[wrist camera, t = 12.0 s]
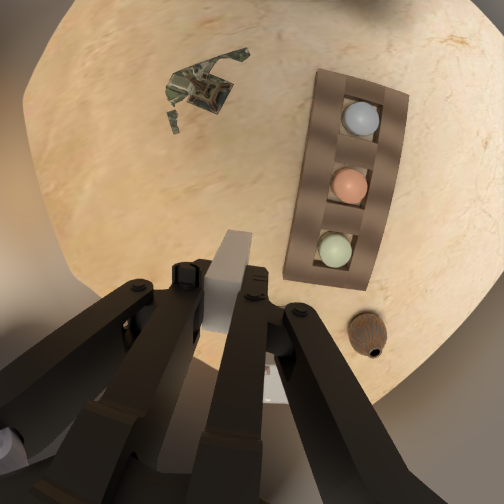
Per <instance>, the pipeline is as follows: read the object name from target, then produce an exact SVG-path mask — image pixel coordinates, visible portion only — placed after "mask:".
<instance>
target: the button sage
mask: <svg viewBox="0 0 504 504" xmlns="http://www.w3.org/2000/svg"><path fill="white" fill-rule="evenodd" d="M318 251H319V253H320V256H321V258H322V261H323V262H324V263H325V264H326V265H327V266H330V267H341V266H343V265H344V264H346V263H347V262H348V261H349V259H350V257H351V254H352V249H351V245H350V244H349V242H348V241H347V239H346V238H345V237H344V235H343V234H341V233H340V232H336V231H330V232H327V233H325V234H324V235H323V236H322V237H321V238H320V240H319V242H318Z"/></svg>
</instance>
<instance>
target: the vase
mask: <svg viewBox="0 0 504 504" xmlns="http://www.w3.org/2000/svg"><path fill="white" fill-rule="evenodd" d="M349 340H350V343H351V345H352V347H353V348H354V350H355V351H356V352H358V353H359V354H361V355H364V356H368V357H370V358H377V357H379V356H380V355H381V353H382V349H383V347H384V346H385V344H386V340H387V331H386V327H385V325H384V323H383V322H382V320H381V319H380V318H379V317H377V316H376V315H373V314H362V315H360V316H358V317H356V318H355V319H354V320H353V321H352V323H351V325H350V328H349Z"/></svg>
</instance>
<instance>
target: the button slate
mask: <svg viewBox="0 0 504 504" xmlns="http://www.w3.org/2000/svg"><path fill="white" fill-rule="evenodd" d="M342 123H343V125H344V127H345V129H346V130H347V131H348V132H350V133H351V134H354V135H369V134H372V133H373V132H374V131H375V130H376V129H377V127H378V125H379V116H378V113H377V111H376V110H375V108H374V107H373V106H371V105H370V104H368V103H365V102H357V103H354V104H352V105H350V106H348V107H347V108H346V109H345V110H344V111H343V114H342Z"/></svg>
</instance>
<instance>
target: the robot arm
mask: <svg viewBox="0 0 504 504" xmlns="http://www.w3.org/2000/svg"><path fill="white" fill-rule="evenodd" d="M251 239H252V233H250V232H242V231H235V230H228V231H227V233H226V235H225V237H224V239H223V241H222V243H221V245H220V247H219V249H218V251H217V253H216V255H215V257H214V259H213V261H211V260H204V259H198V260H196V261H194V262H193V263H192V262H180V263H177V264H174V265H173V266H172V284H171V286H170V287H169V289H165V290H154V289H153V284H152V282H150V281H148V280H144V279H134V280H130V281H128V282H126V283H125V284H123V285H122V286H120V287H119V288H117V289H116V290H114V291H112V292H111V293H109V294H108V295H106V296H105V297H103V298H102V299H100V300H99V301H97V302H96V303H94V304H93V305H92V306H90V307H89V308H87V309H86V310H84V311H83V312H81V313H80V314H78V315H77V316H75V317H74V318H72V319H71V320H69V321H68V322H67V323H65V324H64V325H62V326H61V327H59V328H58V329H57V330H55V331H54V332H52V333H51V334H50V335H48V336H47V337H45V338H44V339H43V340H41V341H40V342H39V343H37V344H36V345H34V346H33V347H31V348H30V349H29V350H27V351H26V352H25V353H23V354H22V355H21V356H19V357H18V358H17V359H15V360H14V361H13V362H11V363H10V364H9V365H7V366H6V367H5V368H3V369H2V370H1V371H0V504H270V503H268V502H267V501H266V500H264V499H263V498H261V497H259V491H260V479H261V465H262V449H263V447H262V446H263V444H262V441H261V422H262V409H263V394H264V377H265V360H266V352H269V353H271V354H274V361H275V364H276V367H277V370H278V373H279V376H280V379H281V382H282V385H283V388H284V391H285V394H286V397H287V400H288V403H289V406H290V409H291V412H292V415H293V417H294V421H295V423H296V427H297V429H298V432H299V435H300V438H301V441H302V444H303V447H304V450H305V453H306V455H307V458H308V461H309V464H310V467H311V470H312V473H313V476H314V479H315V482H316V484H317V487H318V490H319V493H320V496H321V499H322V501H323V504H448V503H446V502H445V501H444V500H443V499H442V498H440V497H439V496H438V495H437V494H436V493H434V492H433V491H432V490H431V489H430V488H428V487H427V486H426V485H425V484H424V483H423V482H422V481H420V480H419V479H418V478H417V477H416V476H415V475H413V474H412V473H411V472H410V471H409V470H408V468H407V466H406V464H405V463H404V461H403V459H402V457H401V455H400V454H399V452H398V450H397V448H396V447H395V445H394V443H393V441H392V439H391V437H390V436H389V434H388V432H387V430H386V429H385V427H384V425H383V424H382V422H381V420H380V418H379V417H378V415H377V413H376V411H375V409H374V408H373V406H372V404H371V403H370V401H369V399H368V397H367V396H366V394H365V392H364V391H363V389H362V387H361V385H360V384H359V382H358V380H357V379H356V377H355V375H354V374H353V372H352V370H351V368H350V367H349V365H348V363H347V362H346V360H345V358H344V357H343V355H342V353H341V352H340V350H339V348H338V347H337V345H336V343H335V342H334V340H333V338H332V337H331V335H330V334H329V332H328V330H327V329H326V327H325V325H324V324H323V322H322V320H321V319H320V317H319V316H318V314H317V312H316V311H315V310H314V309H313V308H312V307H311V306H309V305H307V304H305V303H297V302H295V303H290V304H287V305H286V307H285V308H280V307H278V306H276V305H274V304H272V303H271V302H270V301H269V298H268V273H269V272H268V271H267V270H266V268H265V267H257V266H250V265H248V262H249V254H250V247H251ZM126 321H128V325H127V326H125V327H123V324H124V323H125V322H126ZM201 324H202V330H207V331H213V332H219V333H225V334H228V335H227V339H226V343H225V348H224V352H223V356H222V360H221V364H220V368H219V373H218V377H217V381H216V385H215V390H214V394H213V398H212V402H211V406H210V411H209V415H208V419H207V423H206V427H205V431H204V432H203V433H202V435H201V438H200V441H199V446H198V450H197V454H196V458H195V462H194V467H193V471H192V474H172V473H161V472H158V471H157V467H158V466H157V465H158V458H159V454H160V451H161V448H162V445H163V442H164V439H165V436H166V433H167V430H168V427H169V424H170V421H171V418H172V415H173V412H174V409H175V406H176V403H177V400H178V397H179V395H180V391H181V389H182V386H183V383H184V380H185V377H186V374H187V371H188V368H189V365H190V363H191V360H192V357H193V354H194V351H195V349H196V346H197V343H198V340H199V337H200V326H201ZM107 386H108V387H107ZM106 387H107V389H106V390H105V392H104V394H103V396H102V397H101V399H100V400H99V401H97V402H96V401H93V400H94V399H95V398H96V397H97V396H98V395H99V394H100V393H101V392H102V391H103V390H104V389H105V388H106ZM76 417H77V418H76ZM75 418H76V419H75ZM74 419H75V421H74V423H73V424H72V426H71V428H70V430H69V431H68V433H67V435H66V437H65V439H64V440H63V442H62V444H61V446H60V448H59V449H58V451H57V453H56V455H54V456H52V457H49V458H47V459H44V460H42V461H39V462H37V463H34V464H31V465H28V463H27V459H29V458H31V457H33V456H35V455H36V454H38V453H39V452H41V451H42V450H43V449H45V448H46V447H47V446H48V445H49V444H50V443H51V442H53V441H54V439H56V438H57V436H59V435H60V433H62V431H63V430H65V428H66V427H67V426H68V425H69V424H70V423H71V422H72V421H73V420H74Z"/></svg>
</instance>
